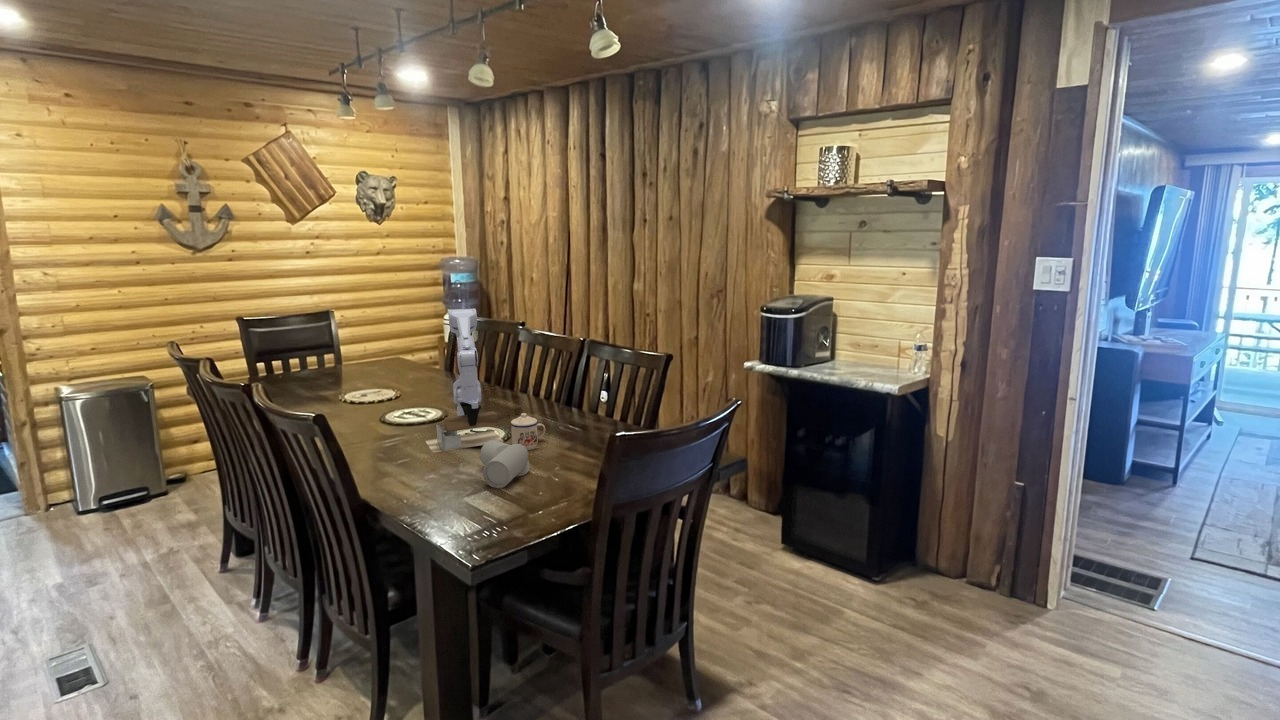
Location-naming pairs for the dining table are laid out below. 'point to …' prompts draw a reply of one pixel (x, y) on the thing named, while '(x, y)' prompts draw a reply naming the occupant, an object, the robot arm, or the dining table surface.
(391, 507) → the dining table surface
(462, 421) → the rail
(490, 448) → the elbow connector
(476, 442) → the base board
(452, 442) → the bracket
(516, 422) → the teacup with lid
